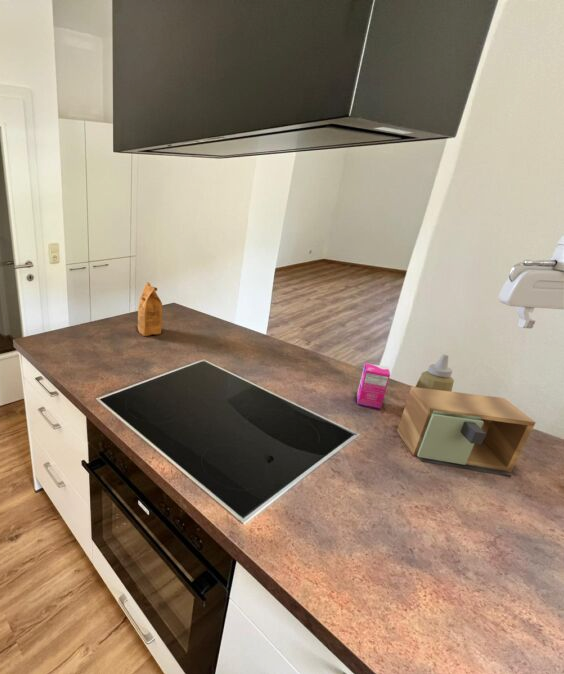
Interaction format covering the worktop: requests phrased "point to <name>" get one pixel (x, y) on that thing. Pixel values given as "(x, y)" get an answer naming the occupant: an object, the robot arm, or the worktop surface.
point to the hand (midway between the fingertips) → (554, 329)
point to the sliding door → (451, 438)
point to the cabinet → (497, 414)
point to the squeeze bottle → (437, 376)
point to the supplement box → (373, 386)
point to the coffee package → (149, 312)
